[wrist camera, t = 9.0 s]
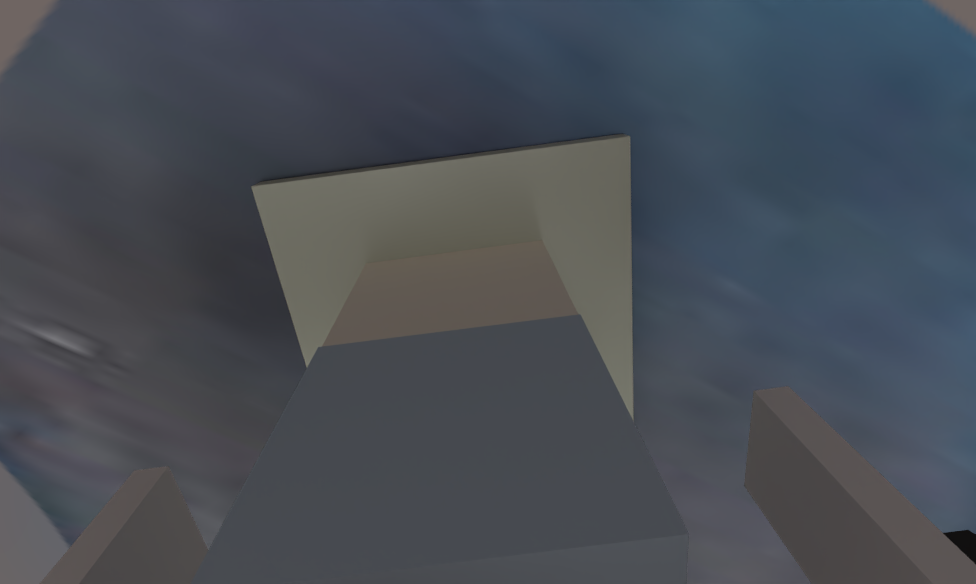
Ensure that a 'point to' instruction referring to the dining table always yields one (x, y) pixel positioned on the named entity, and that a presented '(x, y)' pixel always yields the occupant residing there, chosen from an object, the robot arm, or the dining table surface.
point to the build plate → (463, 229)
